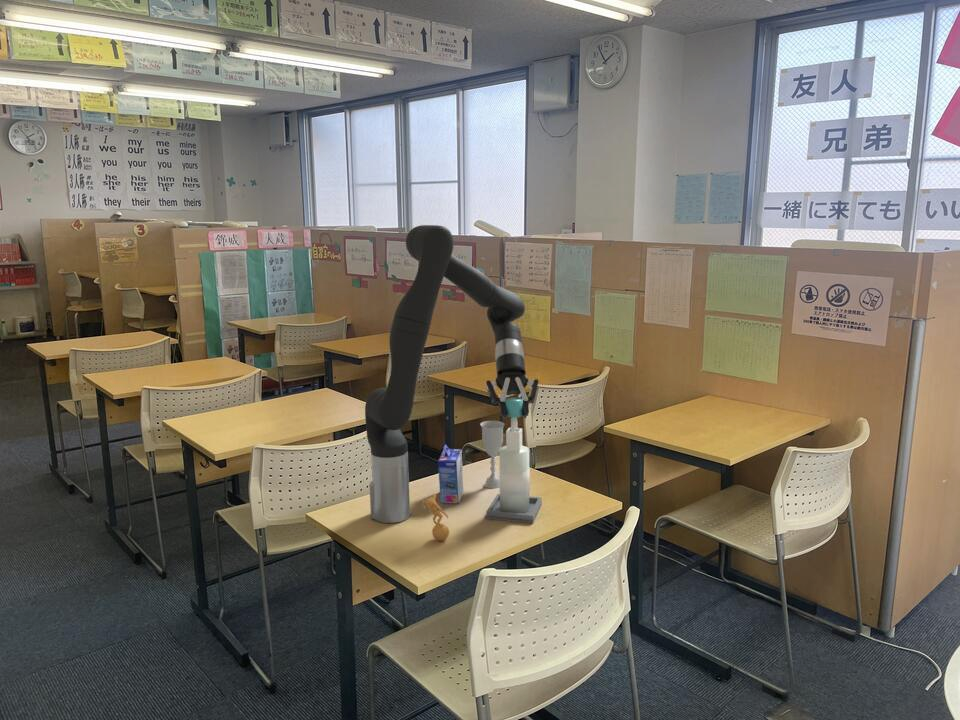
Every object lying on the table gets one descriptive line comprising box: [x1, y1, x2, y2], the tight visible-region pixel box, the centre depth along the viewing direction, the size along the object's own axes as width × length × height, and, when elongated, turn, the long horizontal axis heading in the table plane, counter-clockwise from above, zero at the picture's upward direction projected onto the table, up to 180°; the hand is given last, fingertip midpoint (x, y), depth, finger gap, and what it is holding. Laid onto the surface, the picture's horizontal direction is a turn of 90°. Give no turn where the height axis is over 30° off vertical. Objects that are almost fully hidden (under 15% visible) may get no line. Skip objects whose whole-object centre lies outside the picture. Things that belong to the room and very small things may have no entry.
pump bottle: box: [485, 427, 543, 524], centre depth 179 cm, size 12×12×22 cm
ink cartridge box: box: [437, 444, 464, 504], centre depth 190 cm, size 10×6×14 cm, turn 174°
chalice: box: [479, 420, 506, 489], centre depth 198 cm, size 7×7×18 cm
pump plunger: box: [505, 396, 523, 432], centre depth 176 cm, size 4×4×10 cm
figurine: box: [421, 493, 450, 542], centre depth 163 cm, size 8×6×12 cm
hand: (515, 416), depth 174 cm, fingers closed on pump plunger, 4 cm apart
